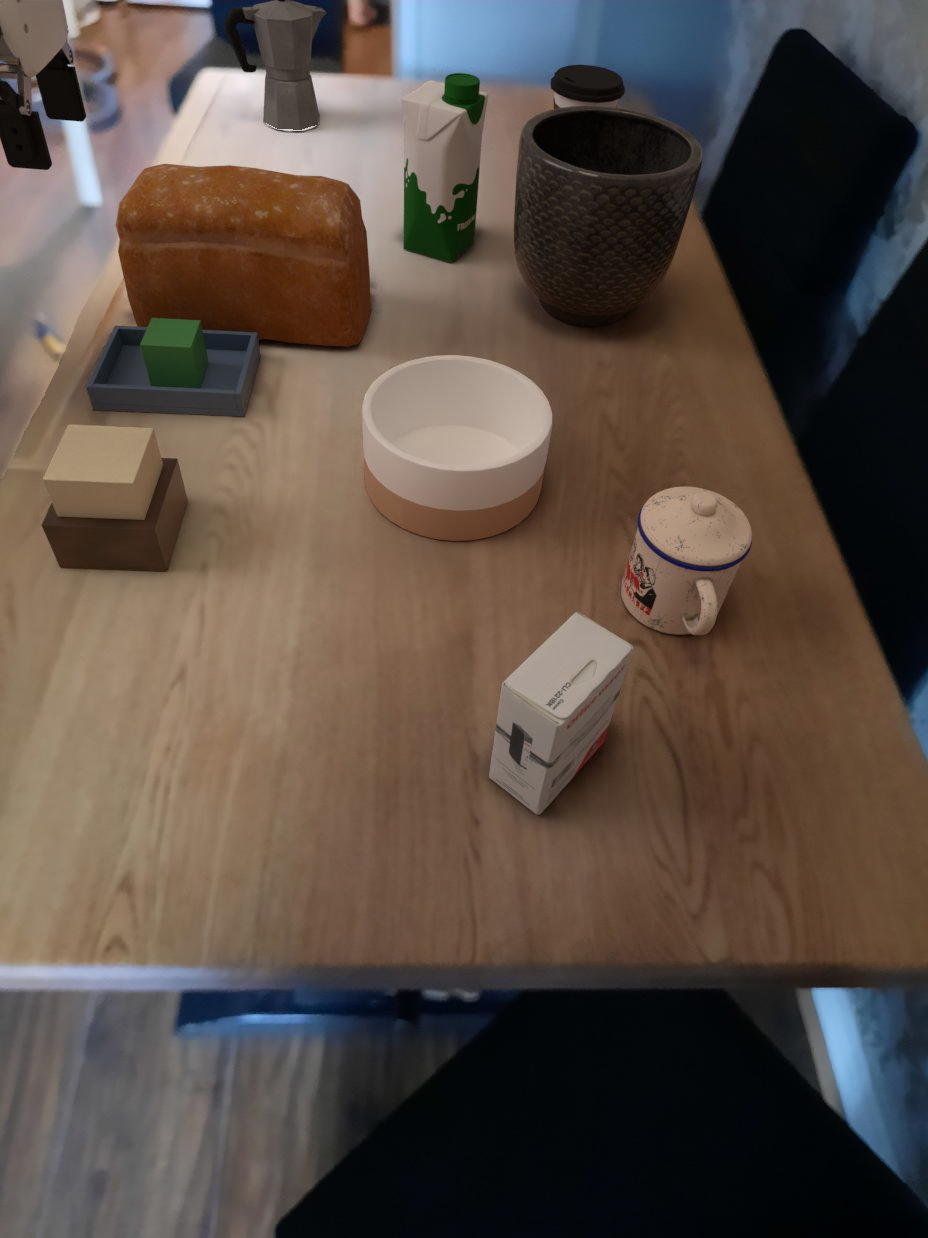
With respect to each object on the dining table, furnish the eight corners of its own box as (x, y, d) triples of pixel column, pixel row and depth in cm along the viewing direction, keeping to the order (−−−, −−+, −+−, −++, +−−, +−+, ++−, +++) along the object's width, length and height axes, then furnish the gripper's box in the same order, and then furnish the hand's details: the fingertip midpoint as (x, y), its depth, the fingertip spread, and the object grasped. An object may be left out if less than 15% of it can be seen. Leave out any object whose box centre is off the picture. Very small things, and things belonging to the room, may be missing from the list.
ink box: (553, 705, 67) (578, 605, 57) (605, 742, 65) (639, 645, 56) (484, 777, 62) (499, 681, 53) (538, 818, 60) (563, 726, 51)
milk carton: (455, 268, 109) (464, 95, 94) (392, 250, 112) (392, 77, 96) (483, 240, 115) (496, 72, 100) (423, 223, 117) (427, 56, 102)
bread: (162, 274, 104) (131, 136, 92) (376, 292, 104) (373, 157, 92) (127, 336, 95) (88, 192, 83) (361, 355, 96) (355, 215, 84)
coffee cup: (569, 183, 128) (582, 94, 119) (527, 155, 134) (536, 68, 124) (625, 170, 132) (642, 83, 123) (581, 143, 138) (594, 58, 129)
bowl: (339, 445, 85) (335, 373, 79) (494, 410, 90) (502, 340, 84) (403, 562, 75) (404, 490, 69) (572, 515, 81) (588, 444, 74)
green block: (150, 387, 88) (139, 344, 84) (161, 360, 91) (151, 317, 88) (199, 389, 88) (191, 347, 85) (208, 362, 92) (200, 319, 88)
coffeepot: (322, 106, 141) (314, -27, 128) (341, 128, 136) (334, -8, 122) (230, 115, 137) (211, -22, 123) (245, 138, 131) (227, -2, 118)
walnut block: (59, 567, 73) (41, 525, 69) (88, 496, 78) (73, 453, 75) (167, 571, 73) (154, 529, 69) (188, 500, 79) (177, 458, 75)
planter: (670, 280, 111) (711, 120, 96) (651, 362, 98) (696, 192, 84) (522, 253, 113) (540, 93, 99) (486, 329, 101) (501, 158, 86)
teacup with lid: (608, 561, 77) (635, 460, 68) (705, 560, 78) (745, 459, 69) (635, 668, 69) (671, 570, 60) (743, 665, 70) (794, 568, 61)
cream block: (57, 517, 69) (41, 479, 66) (81, 461, 74) (68, 423, 71) (144, 520, 70) (133, 483, 67) (163, 464, 74) (153, 427, 71)
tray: (92, 409, 87) (85, 386, 84) (120, 348, 94) (114, 324, 92) (244, 416, 87) (240, 393, 85) (260, 354, 95) (257, 332, 92)
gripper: (-36, -162, 62) (35, 99, 75) (-141, -113, 51) (-37, 184, 64) (70, -151, 63) (123, 106, 76) (-11, -100, 51) (66, 191, 64)
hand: (50, 141), depth 70 cm, fingers open, 9 cm apart
